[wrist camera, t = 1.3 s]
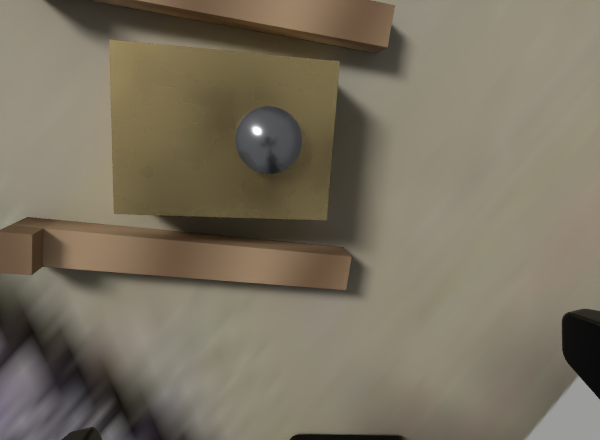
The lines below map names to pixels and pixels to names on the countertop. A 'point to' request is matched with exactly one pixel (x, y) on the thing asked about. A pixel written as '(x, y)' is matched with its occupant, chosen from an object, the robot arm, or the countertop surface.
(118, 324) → the countertop surface
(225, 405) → the countertop surface
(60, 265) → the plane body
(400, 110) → the countertop surface
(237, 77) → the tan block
